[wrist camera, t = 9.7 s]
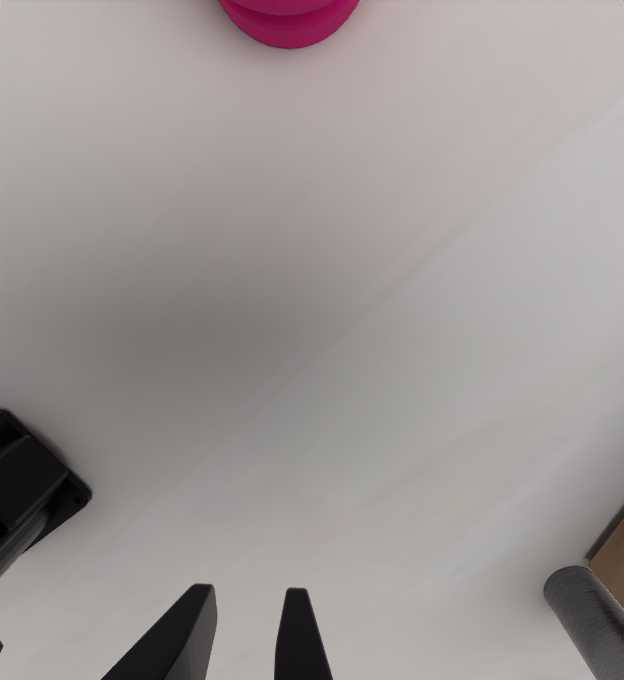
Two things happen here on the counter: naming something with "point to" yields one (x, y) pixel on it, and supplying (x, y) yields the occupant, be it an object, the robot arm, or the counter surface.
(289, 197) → the counter surface
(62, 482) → the robot arm
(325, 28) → the pepper mill
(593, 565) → the gate
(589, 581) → the gate post
